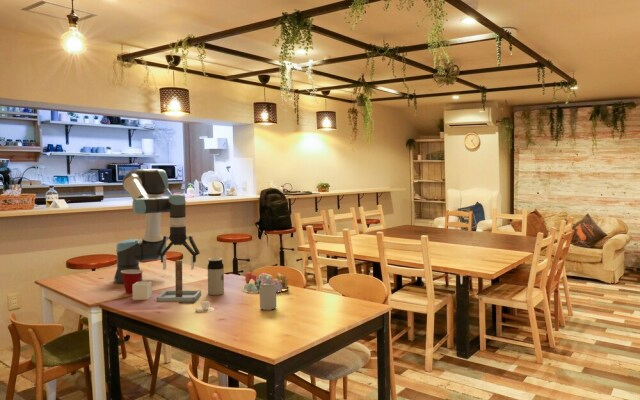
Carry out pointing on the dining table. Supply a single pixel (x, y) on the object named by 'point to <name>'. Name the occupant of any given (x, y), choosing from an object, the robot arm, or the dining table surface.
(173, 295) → the tray
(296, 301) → the dining table surface
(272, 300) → the can
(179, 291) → the dowel
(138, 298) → the square open box
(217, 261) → the travel mug
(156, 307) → the dining table surface
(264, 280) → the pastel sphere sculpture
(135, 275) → the plastic cup
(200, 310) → the cream curved piece
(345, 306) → the dining table surface
